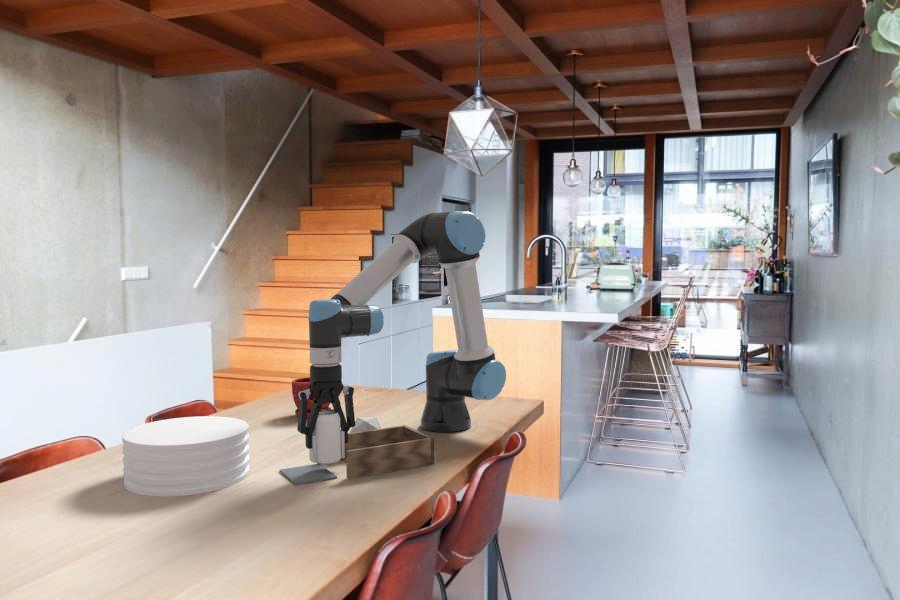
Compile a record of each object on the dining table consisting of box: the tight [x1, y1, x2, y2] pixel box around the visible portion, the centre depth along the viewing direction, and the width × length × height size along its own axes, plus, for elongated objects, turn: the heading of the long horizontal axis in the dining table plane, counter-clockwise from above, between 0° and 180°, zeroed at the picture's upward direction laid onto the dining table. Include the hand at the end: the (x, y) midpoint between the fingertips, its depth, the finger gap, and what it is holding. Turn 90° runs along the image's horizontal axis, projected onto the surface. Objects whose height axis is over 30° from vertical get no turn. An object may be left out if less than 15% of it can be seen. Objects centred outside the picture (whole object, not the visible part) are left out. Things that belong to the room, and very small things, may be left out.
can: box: [313, 408, 341, 465], centre depth 174 cm, size 6×6×12 cm
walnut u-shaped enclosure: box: [339, 424, 435, 480], centre depth 182 cm, size 23×16×6 cm
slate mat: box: [279, 463, 338, 486], centre depth 173 cm, size 10×12×1 cm
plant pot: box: [291, 376, 332, 419], centre depth 235 cm, size 13×13×12 cm
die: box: [349, 416, 382, 433], centre depth 196 cm, size 8×9×10 cm
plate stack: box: [121, 415, 251, 497], centre depth 172 cm, size 28×28×12 cm
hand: (327, 458), depth 175 cm, fingers closed on can, 6 cm apart
